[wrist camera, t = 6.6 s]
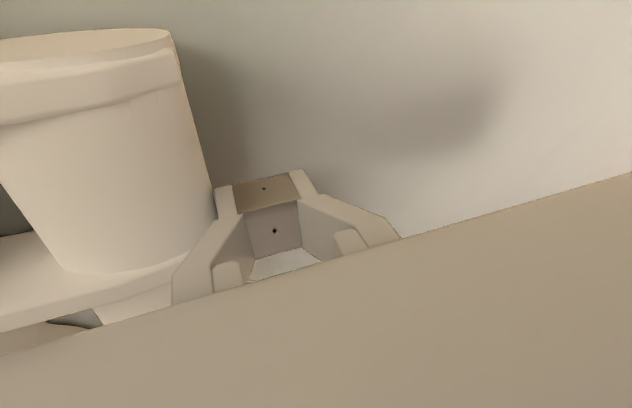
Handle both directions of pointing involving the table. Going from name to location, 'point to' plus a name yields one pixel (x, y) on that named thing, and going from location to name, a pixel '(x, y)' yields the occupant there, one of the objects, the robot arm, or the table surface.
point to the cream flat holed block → (95, 178)
